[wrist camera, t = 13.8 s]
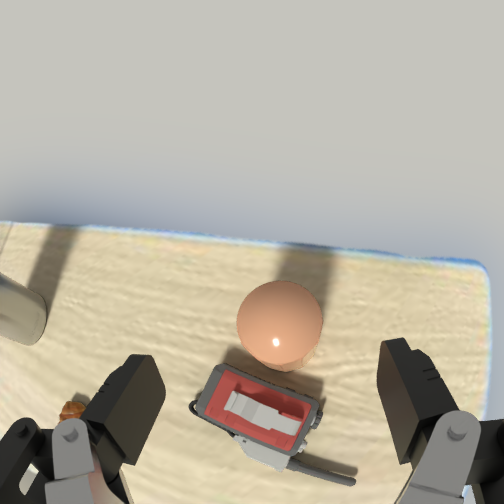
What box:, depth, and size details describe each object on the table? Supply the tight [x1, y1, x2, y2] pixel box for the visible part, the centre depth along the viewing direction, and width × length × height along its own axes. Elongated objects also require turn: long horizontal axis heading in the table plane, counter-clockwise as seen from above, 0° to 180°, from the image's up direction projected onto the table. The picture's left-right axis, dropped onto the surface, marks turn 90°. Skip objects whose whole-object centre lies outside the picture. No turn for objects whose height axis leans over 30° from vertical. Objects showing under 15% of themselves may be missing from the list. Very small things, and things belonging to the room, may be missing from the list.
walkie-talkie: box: [189, 363, 356, 486], centre depth 25 cm, size 9×4×20 cm
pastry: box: [58, 401, 86, 424], centre depth 27 cm, size 9×7×4 cm
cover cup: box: [237, 281, 323, 372], centre depth 26 cm, size 7×7×10 cm
